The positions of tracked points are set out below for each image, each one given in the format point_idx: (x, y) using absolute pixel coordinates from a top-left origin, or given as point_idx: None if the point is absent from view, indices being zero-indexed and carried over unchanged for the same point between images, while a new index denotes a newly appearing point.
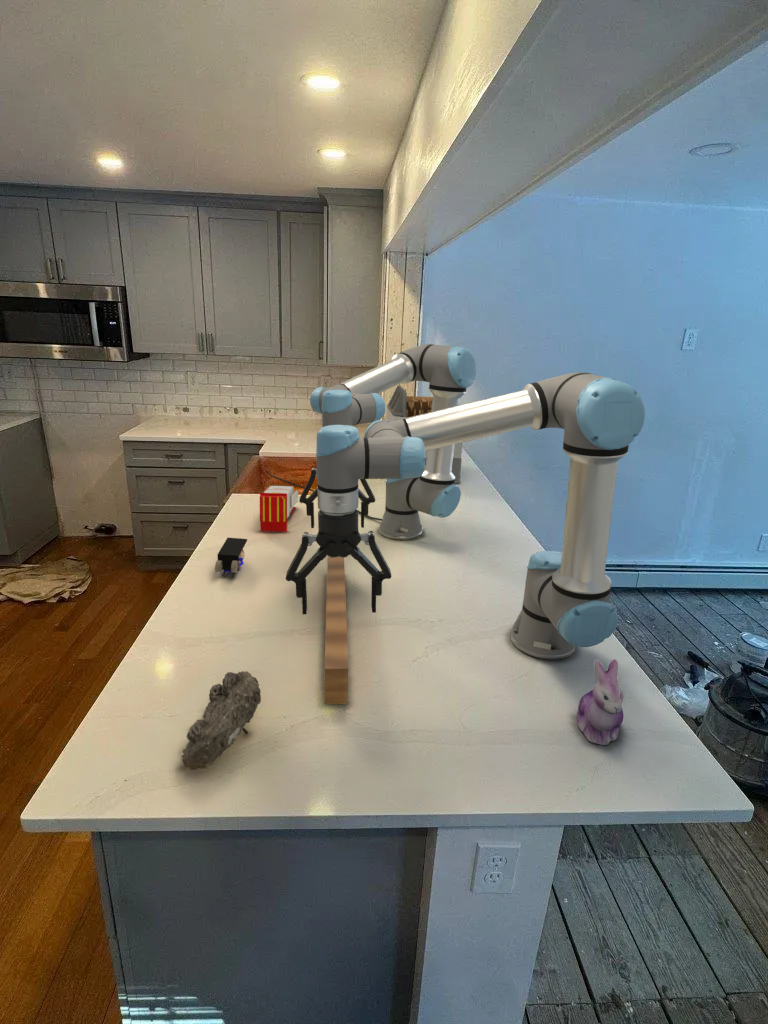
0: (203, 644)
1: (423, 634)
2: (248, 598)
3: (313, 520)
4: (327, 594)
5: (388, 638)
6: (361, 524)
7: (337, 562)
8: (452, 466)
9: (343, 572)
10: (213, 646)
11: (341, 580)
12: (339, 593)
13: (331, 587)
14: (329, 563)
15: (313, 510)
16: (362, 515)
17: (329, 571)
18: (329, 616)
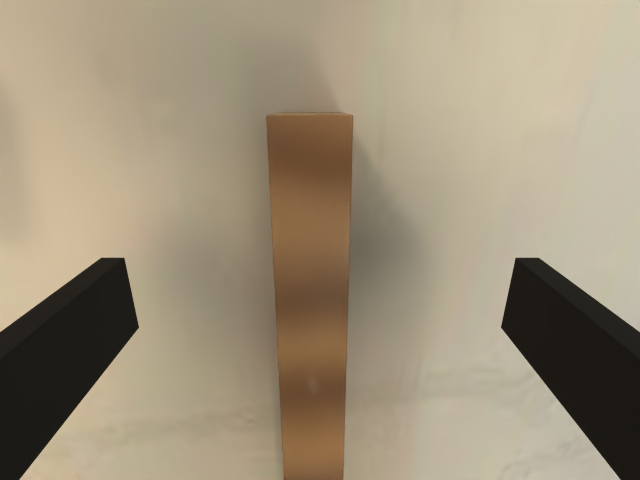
0: None
1: (516, 429)
2: (42, 276)
3: (102, 370)
4: (287, 477)
5: (432, 442)
6: (516, 345)
7: (318, 261)
8: None
9: (341, 346)
10: (53, 468)
11: (332, 400)
12: (324, 472)
13: (298, 442)
14: (283, 270)
15: (34, 453)
16: (575, 406)
17: (286, 339)
18: None
